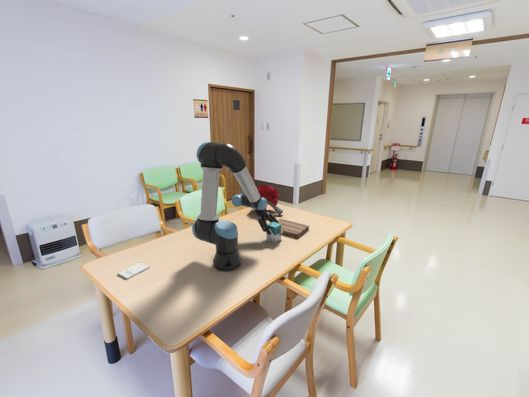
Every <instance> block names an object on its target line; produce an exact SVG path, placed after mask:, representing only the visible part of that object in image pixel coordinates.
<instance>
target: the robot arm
mask: <svg viewBox="0 0 529 397" xmlns="http://www.w3.org/2000/svg"><path fill="white" fill-rule="evenodd" d="M196 159H197V161H198V162H199V163H200V169H201V170H202V184H201V199H200V214H199V215H198V216H197V218H196V219H194V223H192V227H191V231H192V235H193V237H195V238H196V239H198V240H200V241H203V242H206V243H209V244H212V245H215V255H214V258H213V264H212V266H213V268H214V269H216V270H218V271H219V272H220V271H221V272H232V271H235V270H237V269H238V268H240V267H242V258H241V256H240V252H239V248H238V247H239V246H238V243H239V242H238V241H239V240H238V237H239V236H238V235H239V232H238V231H239V230H238V227H237V225H236V224H235V223H234V222H232V221H229V220H219V219H220V218H219V216H218V215H217V211H218V210H217V209H218V198H219V197H218V196H219V195H218V193H219V186H220V185H219V184H220V183H219V182H220V181H219V180H220V172H221V171H222V170H223V169H224V168H223V167H226V168H227V169H228V170H229V171H230V173H232V174H233V175H234V177H235V178H236V180H237V182H238V184H239V186H240V188H241V189H242V190H241V191H240V193H237V194H235V195H233V196H232V197H231V204H232V206H234V207H236V208H237V207H239V208H240V207H246V208H250V209H251V210H252V211H253V213H254V214H255V216H257V217H256V219H255V220H256V221H257V222H258V224H259V226H260V227H261V230H262V232H263V233H264V232H265V233H266V232H267V233H268V235H270V237H271V238H272V240H273V239H274V238H276V237H275V235H274V234H273V233H272V231H271V230H270V229H269V228H268V225H267V224H268V223H267V221H268V222H269V223H271V222H276V223H278V220H279V219H276V217H275V216H274V215H273V214H272V213H271V211H270V210H269V211H267V207H268V204H267V199H265V198H263V197H261V196H260V194H259V192H258V190H257V188H258V187H257V186H256V184H255V182H254V180H253V178H252V176H251V174H250V171H249V170H248V167H247V162H246V159H245V158H244V156H243V155H242V153H241V152H240V151H239V150H238V149H237V148H236V147H235V146H234V145H232V144H230V143H224V142H212V141H209V142H207V141H205V142H203V143H201V144H200V145H199V146H198V148H197V150H196ZM265 208H266V209H265ZM265 210H266V211H265ZM282 233H283V231H282V230H281V235H283V234H282Z"/></svg>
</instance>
